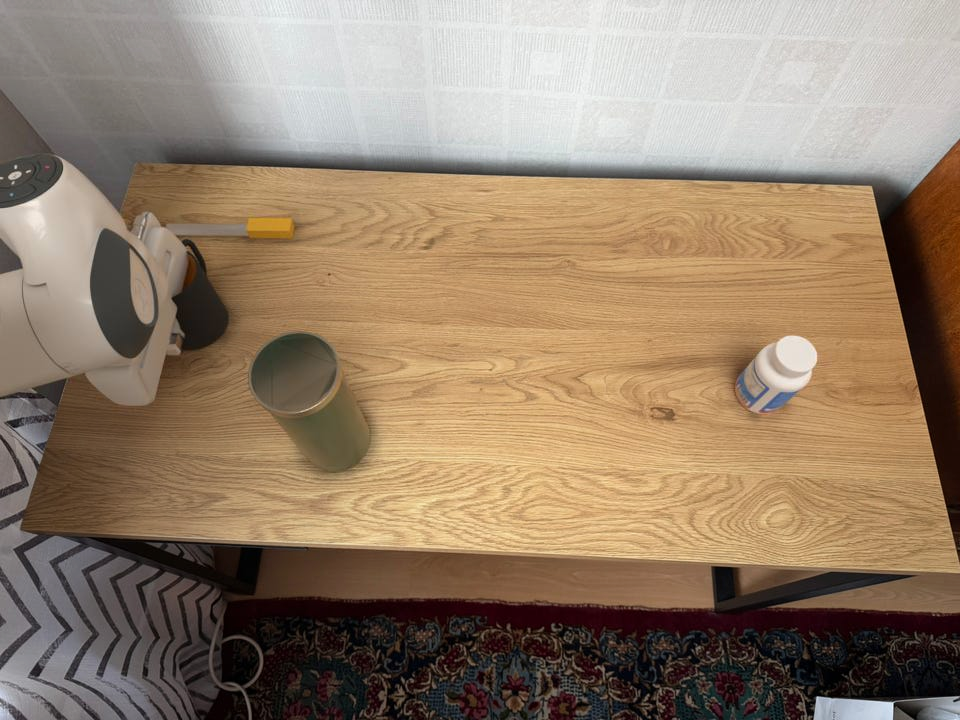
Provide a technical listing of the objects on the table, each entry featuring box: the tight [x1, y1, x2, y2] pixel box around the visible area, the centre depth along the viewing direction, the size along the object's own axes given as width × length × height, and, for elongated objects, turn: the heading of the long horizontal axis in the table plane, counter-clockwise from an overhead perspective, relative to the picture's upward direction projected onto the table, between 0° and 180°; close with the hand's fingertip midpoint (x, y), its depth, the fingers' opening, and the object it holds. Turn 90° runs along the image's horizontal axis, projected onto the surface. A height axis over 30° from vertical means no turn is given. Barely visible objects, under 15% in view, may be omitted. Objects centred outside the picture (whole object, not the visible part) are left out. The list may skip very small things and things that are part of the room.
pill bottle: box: [734, 335, 818, 415], centre depth 74 cm, size 6×6×11 cm
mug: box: [171, 238, 229, 351], centre depth 79 cm, size 8×12×10 cm
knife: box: [165, 217, 296, 240], centre depth 88 cm, size 18×2×2 cm, turn 89°
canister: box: [247, 330, 372, 473], centre depth 67 cm, size 8×8×20 cm
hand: (176, 345), depth 77 cm, fingers closed
